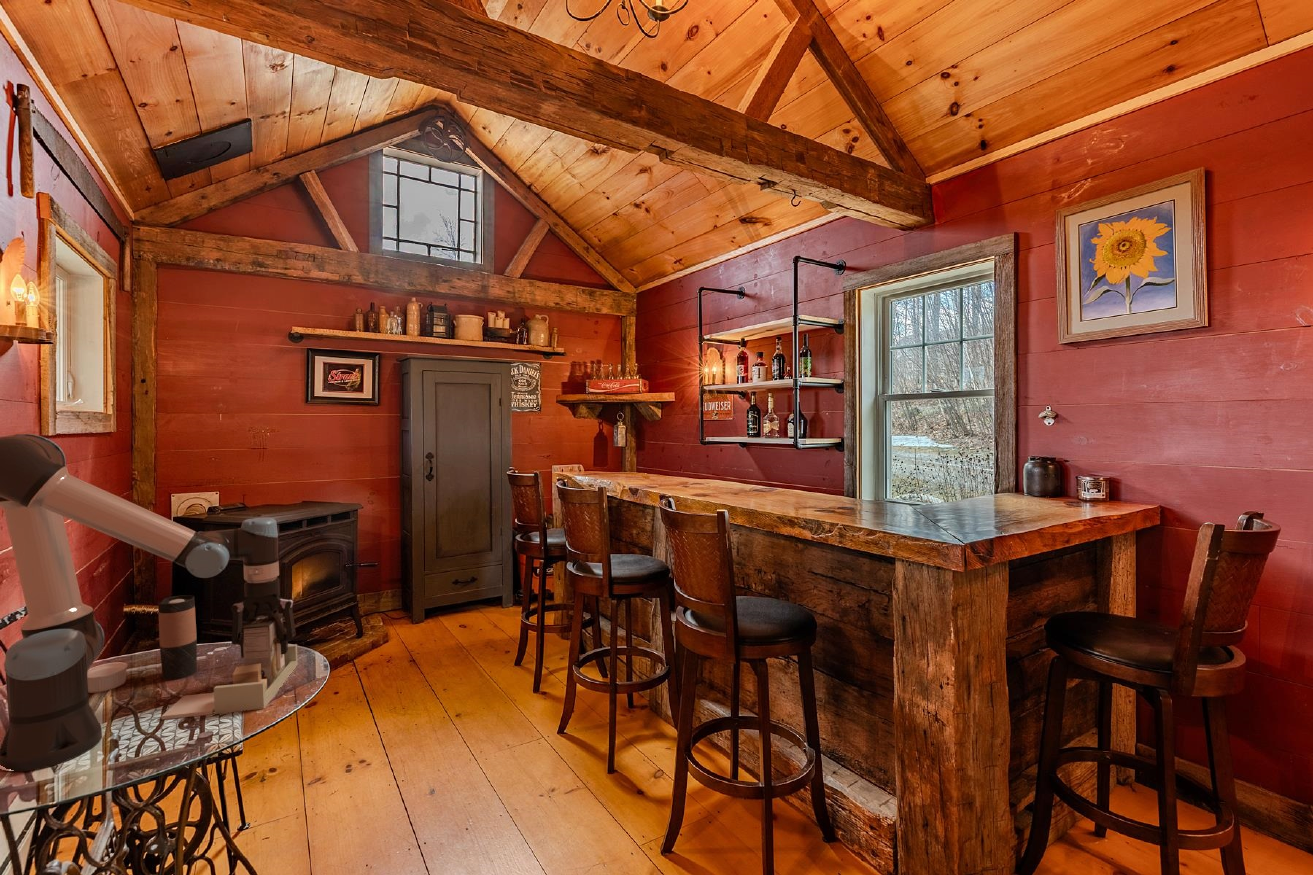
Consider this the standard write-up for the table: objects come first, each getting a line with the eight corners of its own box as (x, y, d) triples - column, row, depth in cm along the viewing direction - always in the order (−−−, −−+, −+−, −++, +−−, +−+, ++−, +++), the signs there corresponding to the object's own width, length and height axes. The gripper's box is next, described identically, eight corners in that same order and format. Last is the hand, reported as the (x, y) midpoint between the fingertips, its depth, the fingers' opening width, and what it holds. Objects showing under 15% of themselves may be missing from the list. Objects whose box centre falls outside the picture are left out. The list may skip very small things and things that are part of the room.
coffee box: (259, 674, 161) (256, 614, 160) (286, 672, 162) (283, 612, 161) (244, 690, 152) (241, 626, 151) (272, 687, 153) (270, 624, 152)
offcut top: (233, 691, 143) (232, 674, 143) (236, 683, 147) (236, 667, 147) (258, 687, 145) (257, 670, 145) (261, 679, 150) (260, 663, 149)
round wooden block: (131, 685, 155) (131, 668, 155) (84, 697, 148) (83, 680, 148) (124, 675, 161) (123, 659, 161) (78, 687, 154) (77, 670, 154)
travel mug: (203, 672, 162) (200, 597, 161) (168, 683, 156) (164, 606, 155) (190, 665, 166) (187, 593, 165) (156, 676, 160) (152, 600, 159)
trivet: (161, 719, 138) (161, 716, 138) (184, 698, 148) (183, 695, 148) (212, 714, 140) (212, 710, 140) (231, 694, 150) (231, 690, 150)
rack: (214, 713, 140) (213, 688, 140) (256, 669, 164) (255, 647, 163) (263, 708, 143) (262, 683, 142) (297, 665, 166) (296, 644, 166)
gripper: (211, 586, 150) (215, 678, 151) (299, 580, 154) (302, 669, 156) (224, 577, 157) (228, 665, 158) (308, 572, 162) (311, 658, 163)
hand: (265, 667), depth 157 cm, fingers closed on coffee box, 6 cm apart
